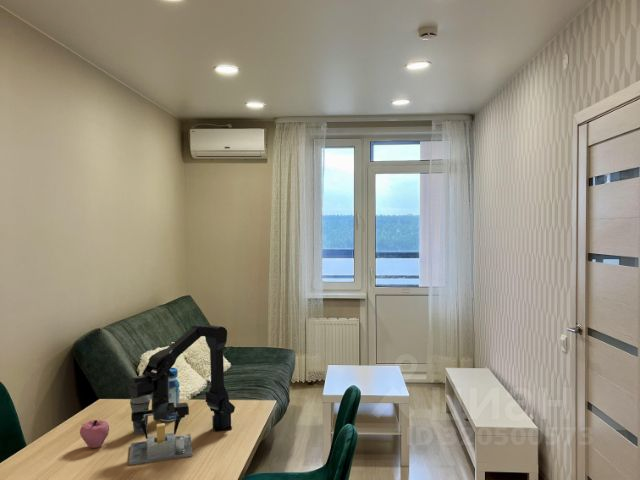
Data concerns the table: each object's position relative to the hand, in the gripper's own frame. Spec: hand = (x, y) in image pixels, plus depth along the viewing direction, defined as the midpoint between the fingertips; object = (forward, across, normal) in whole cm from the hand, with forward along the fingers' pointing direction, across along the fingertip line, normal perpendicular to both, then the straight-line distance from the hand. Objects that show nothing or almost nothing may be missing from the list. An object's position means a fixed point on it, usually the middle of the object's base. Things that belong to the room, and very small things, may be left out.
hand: (160, 436), depth 172 cm
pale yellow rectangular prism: (+4, 0, 0) cm, 4 cm away
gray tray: (+5, 0, 0) cm, 5 cm away
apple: (+5, -22, +12) cm, 26 cm away
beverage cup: (+5, -7, +21) cm, 23 cm away
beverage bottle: (+5, +4, +32) cm, 33 cm away
